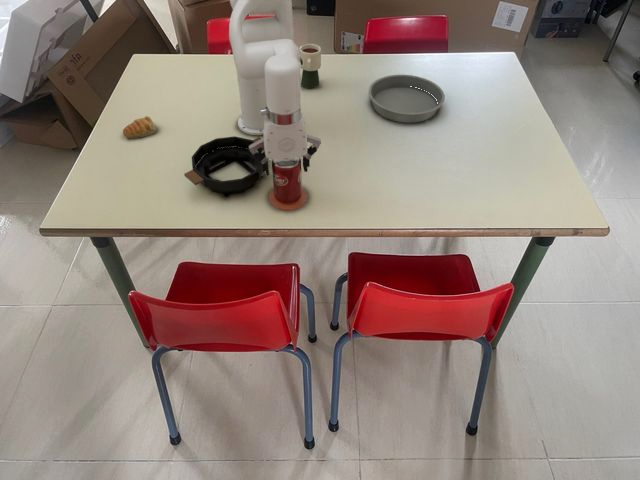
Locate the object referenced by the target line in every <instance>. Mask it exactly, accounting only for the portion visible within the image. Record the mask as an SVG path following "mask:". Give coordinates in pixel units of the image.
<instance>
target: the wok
mask: <svg viewBox="0 0 640 480" xmlns="http://www.w3.org/2000/svg"><path fill="white" fill-rule="evenodd" d="M260 139H262V138H261V137H260V136H258V137H255V138H254V139H250V138H245V137H240V136H234V135H233V136H225V137H217V138H214V139H212V140H210V141H208V142H206V143H204V144H201V145H199V147H198V148H197V150H196V151H195V152H194V153H193V154H192V155H191V166H192V167H191V170H189V171H188V172H184V173H183V176H184V177H185V178H186V179H188V181H190V183H192V184H193V185H194V186H197V185H200V184H201V185H202V186H203V187H205V188H207V189H208V190H210V191H211V193H216V194H218V195H222V196H223V197H225V198H229V197H230V196H232V195H237V194H238V195H239V194H244V193H246V192H247V191H249V190H251V189H252V188H254V187H255V186H256V185H257V184H258V182H259V181H260V180H261V179H264V176H263V175H264V173H266V171H263V169H262V163H261V161H259V160H258V159H256V158H255V157H254V155H253V154H252V153H251V152H250V151H249V145H251V144H253V143H255V142H257V141H258V140H260ZM257 150H258V151H259V152H261V153H262V151H263V150H264V146H263V147H261V148H259V149H257ZM233 163H236V164H238V165H239V166H240V167H241V168H243V169H244V170H245V171H247V172H248V173H249V174H248V175H246V176H244V177H242V178H236V179H227V180H220V179H215V178H213V177H212V176H210V175H211V174H213V173H215V172H217V171H219V170H222V169H223V168H225V167H227V166H229V165H231V164H233ZM247 163H248V164H247ZM250 165H251V166H250Z"/></svg>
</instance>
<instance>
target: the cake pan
mask: <svg viewBox="0 0 640 480" xmlns="http://www.w3.org/2000/svg"><path fill="white" fill-rule="evenodd" d="M410 86H412V87H410ZM415 87H417V88H415ZM418 88H420V89H418ZM421 89H422V90H421ZM424 90H425V91H424ZM426 91H427V92H426ZM428 92H429V93H430V94H429V93H428ZM431 94H432V95H433V96H434V97H435V98H436V99H437V101H436V99H435V98H434V97H433V96H432V95H431ZM368 96H369V98H370V100H371V104H372V107H373V109H374V111H376V113H378V114H379V115H380V116H382V117H383V118H386V119H388V120H390V121H393V122H397V123H404V124H405V123H406V124H407V123H408V124H413V123H414V124H415V123H422V122H425V121H427V120H429V119H431V118H432V117H434V116H435V115H436V113H437V111H438V109H440V108H441V107H442V106H443V104H444V102H445V98H446V97H445V96H446V95H445V93H444V90H443V89H442V88H441V87H440V86H439V85H438V84H437V83H436V82H433V81H431V80H430V79H427V78H425V77H421V76H417V75H412V74H390V75H385V76H382V77H380V78H378V79H376V80H374V81H373V82H372V83H371V84H370V85H369V87H368ZM437 102H438V104H437Z"/></svg>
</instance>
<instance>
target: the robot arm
mask: <svg viewBox="0 0 640 480" xmlns="http://www.w3.org/2000/svg"><path fill="white" fill-rule="evenodd" d="M229 4H230V6H231V9H232V11H231V14H230V19H229V25H228V27H229V28H228V39H229V45H230V47H231V51H232V56H233V61H234V66H235V69H236V70H235V71H236V76H237V83H238V84H237V85H238V92H239V93H238V94H239V102H240V110H241V115H240V116H239V117H238V119H237V127H238V129H239V130H240V131H241V132H243V133H245V134H247V135H250V136H262V137H263V138H261V139H260V140H258V141H257V142H255V143H253V144H251V145H249V151H250V152H251V153H252V154H253V155H254V157H255V158H256V159H258V160H259V161H261V163H262V169H263V171H265V176H266V177H269V176H270V170H269V169H270V167H269V160H272V159H284V158H293V157H300V158H301V157H302V168H303V172H305V173H308V168H309V167H310V166H311V163H310V162H311V161H310V160H311V159H312V156H313V155H314V154H316V153H317V152H318V149H320V148H319V147H321V145H322V141H321V138H319V137H316V136H313V135H310V134H307V132H308V131H307V125H306V120H305V116H304V114H303V112H302V108H301V106H302V104H301V103H302V102H301V101H302V100H301V99H302V98H301V97H302V93H301V91H302V88H301V86H302V85H301V80H302V73H301V67H300V61H299V58H300V53H299V47H298V45H296V43H295V27H294V15H293V14H294V13H293V0H229ZM264 13H273V14H274V16H267V17H257V18H248V19H246V18H247V16H248V15H255V14H257V15H258V14H264ZM308 143H309V144H311V145H310V146H309V147H308ZM263 146H264V150H263V151H262V153H261V152H259V151H258V150H257V149H259V148H261V147H263Z"/></svg>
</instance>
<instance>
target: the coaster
mask: <svg viewBox="0 0 640 480" xmlns="http://www.w3.org/2000/svg"><path fill="white" fill-rule="evenodd" d="M307 199H308V193H307V191H306V190H305V189H304V188H303V187H302V196H301V198H300V199H299V200H298V201H297V202H295V203H292V204H283V203H280V202H279V201H277V200H276V199H275V197H274V188H272V189H271V190H270V192H269V195H268V201H269V203H270V204H271V205H272V207H274V208H275V209H278V210H280V211H287V212H289V211H294V210H297V209H300V208H301V207H303V206H304V205H305V204H306V202H307Z"/></svg>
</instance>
